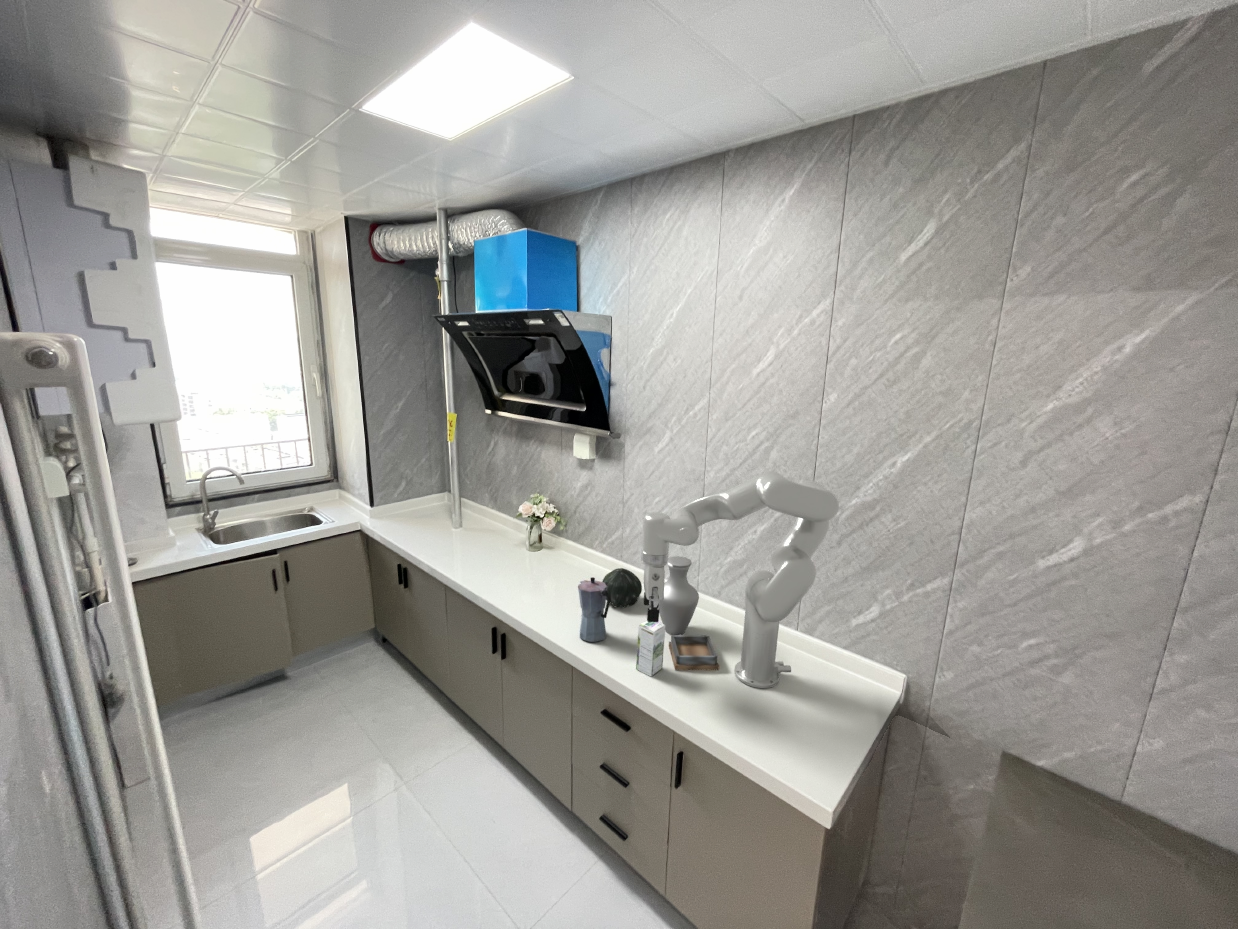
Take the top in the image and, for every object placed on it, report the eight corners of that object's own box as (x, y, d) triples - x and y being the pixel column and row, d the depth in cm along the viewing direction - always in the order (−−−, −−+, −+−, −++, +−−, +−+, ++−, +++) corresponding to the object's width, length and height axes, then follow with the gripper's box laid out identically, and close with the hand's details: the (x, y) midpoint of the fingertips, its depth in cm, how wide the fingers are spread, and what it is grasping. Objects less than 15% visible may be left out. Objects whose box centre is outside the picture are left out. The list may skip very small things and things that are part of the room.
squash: (626, 575, 202) (609, 555, 193) (654, 589, 192) (638, 568, 182) (605, 605, 197) (587, 586, 187) (633, 621, 187) (615, 601, 177)
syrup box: (647, 661, 154) (649, 617, 151) (663, 669, 151) (665, 624, 148) (635, 669, 150) (637, 624, 147) (651, 677, 146) (654, 631, 143)
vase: (648, 636, 168) (651, 565, 163) (660, 616, 182) (663, 550, 176) (691, 645, 164) (696, 572, 158) (700, 624, 177) (705, 556, 172)
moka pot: (589, 622, 176) (590, 567, 172) (621, 640, 165) (623, 582, 161) (567, 632, 169) (568, 575, 165) (599, 651, 159) (600, 591, 155)
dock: (709, 646, 164) (709, 634, 163) (718, 670, 151) (719, 658, 150) (668, 645, 163) (669, 634, 162) (675, 670, 150) (675, 658, 150)
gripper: (672, 569, 135) (667, 629, 139) (663, 546, 152) (659, 599, 155) (644, 569, 135) (640, 628, 138) (638, 545, 152) (635, 598, 155)
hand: (650, 613), depth 147 cm, fingers open, 9 cm apart
